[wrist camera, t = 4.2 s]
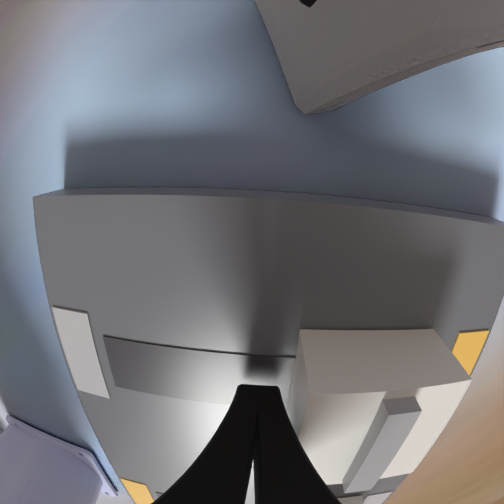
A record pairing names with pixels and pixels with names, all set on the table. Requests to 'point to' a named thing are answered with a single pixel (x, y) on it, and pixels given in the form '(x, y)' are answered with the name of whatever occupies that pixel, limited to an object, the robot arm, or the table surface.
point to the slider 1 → (351, 500)
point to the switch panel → (241, 302)
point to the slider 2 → (371, 401)
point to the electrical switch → (372, 42)
